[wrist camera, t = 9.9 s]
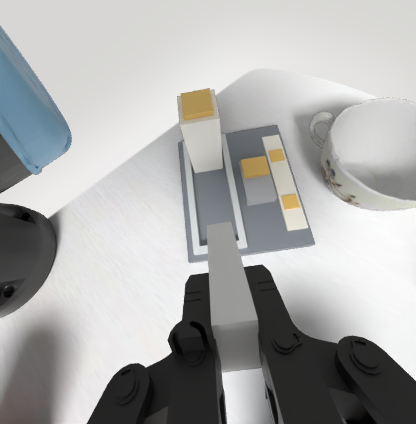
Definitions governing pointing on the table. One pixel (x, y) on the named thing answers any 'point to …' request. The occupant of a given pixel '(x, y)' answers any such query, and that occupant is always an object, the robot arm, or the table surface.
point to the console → (245, 196)
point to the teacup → (371, 154)
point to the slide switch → (201, 129)
